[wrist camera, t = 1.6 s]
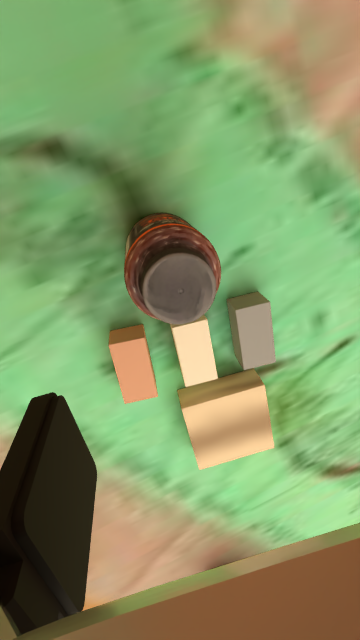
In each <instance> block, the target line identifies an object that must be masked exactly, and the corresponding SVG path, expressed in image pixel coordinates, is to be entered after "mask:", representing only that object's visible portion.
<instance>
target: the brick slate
mask: <svg viewBox="0 0 360 640" xmlns="http://www.w3.org/2000/svg"><path fill="white" fill-rule="evenodd" d="M226 300H227V306H228V313H229V320H230V326H231V333H232V340H233V346H234V353H235V356H236V358H237V359H238V361H239V363H240V364H241V366H242V368H243V369H244V370H247V369H251V368H255V367H258V366H262V365H266V364H270V363H274V362H276V360H275V350H274V339H273V328H272V318H271V307H270V301H268V300H267V299H266V298H265V297H264V296H263V295H261V294H260V293H259V292H254V293H250V294H246V295H242V296H238V297H233V298H229V299H226Z"/></svg>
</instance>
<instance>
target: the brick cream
mask: <svg viewBox="0 0 360 640" xmlns="http://www.w3.org/2000/svg"><path fill="white" fill-rule="evenodd" d="M170 326H171V330H172V334H173V339H174V343H175V347H176V351H177V356H178V360H179V364H180V369H181V372H182V376H183V379H184V383H185V386H186V387H188V386H192V385H195V384H199V383H203V382H207V381H211V380H215V379H218V377H217V371H216V366H215V360H214V355H213V349H212V344H211V338H210V333H209V327H208V322H207V318H206V317H205V315H202V316H201V317H200V318H199V319H197V320H195V321H193V322H190V323H186V324H170Z"/></svg>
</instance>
